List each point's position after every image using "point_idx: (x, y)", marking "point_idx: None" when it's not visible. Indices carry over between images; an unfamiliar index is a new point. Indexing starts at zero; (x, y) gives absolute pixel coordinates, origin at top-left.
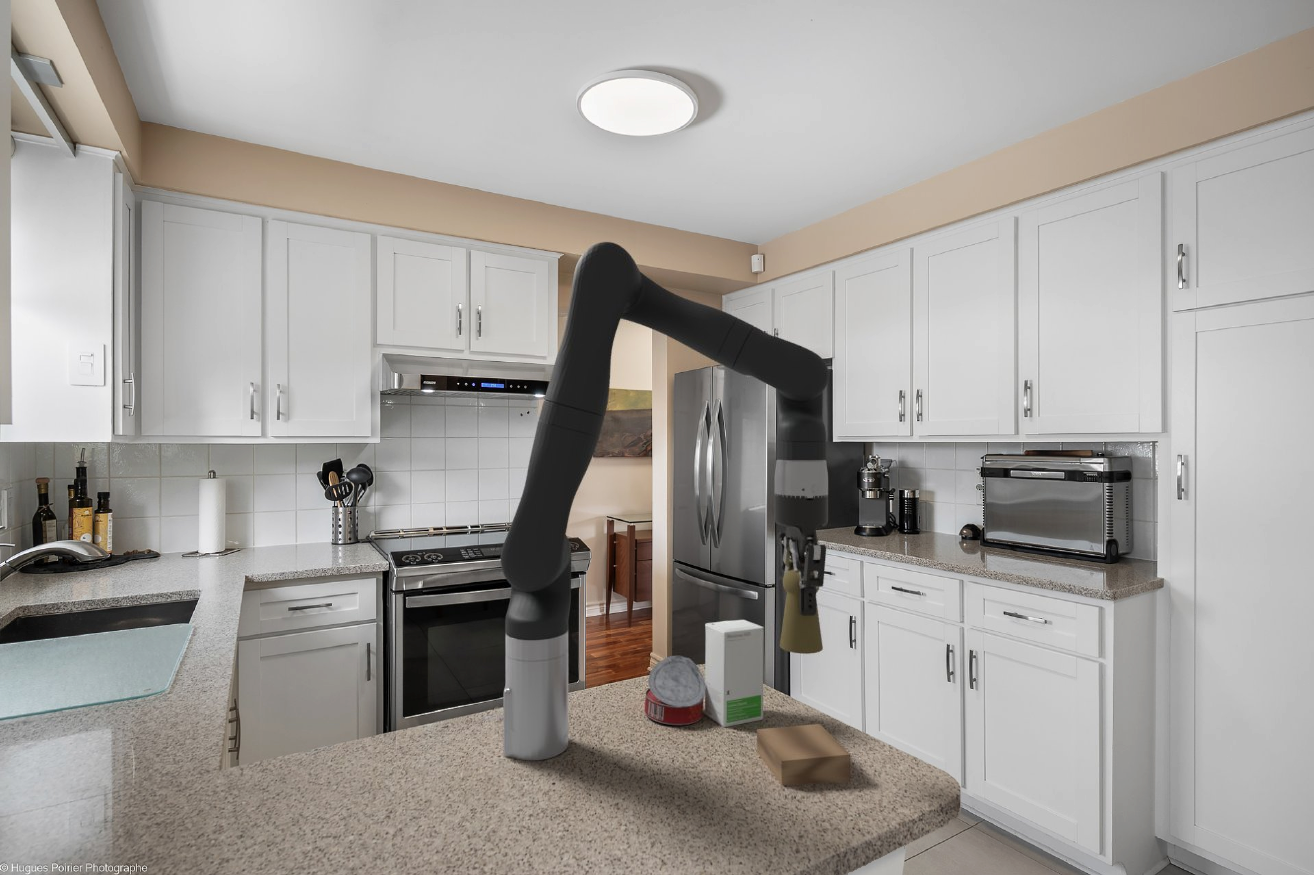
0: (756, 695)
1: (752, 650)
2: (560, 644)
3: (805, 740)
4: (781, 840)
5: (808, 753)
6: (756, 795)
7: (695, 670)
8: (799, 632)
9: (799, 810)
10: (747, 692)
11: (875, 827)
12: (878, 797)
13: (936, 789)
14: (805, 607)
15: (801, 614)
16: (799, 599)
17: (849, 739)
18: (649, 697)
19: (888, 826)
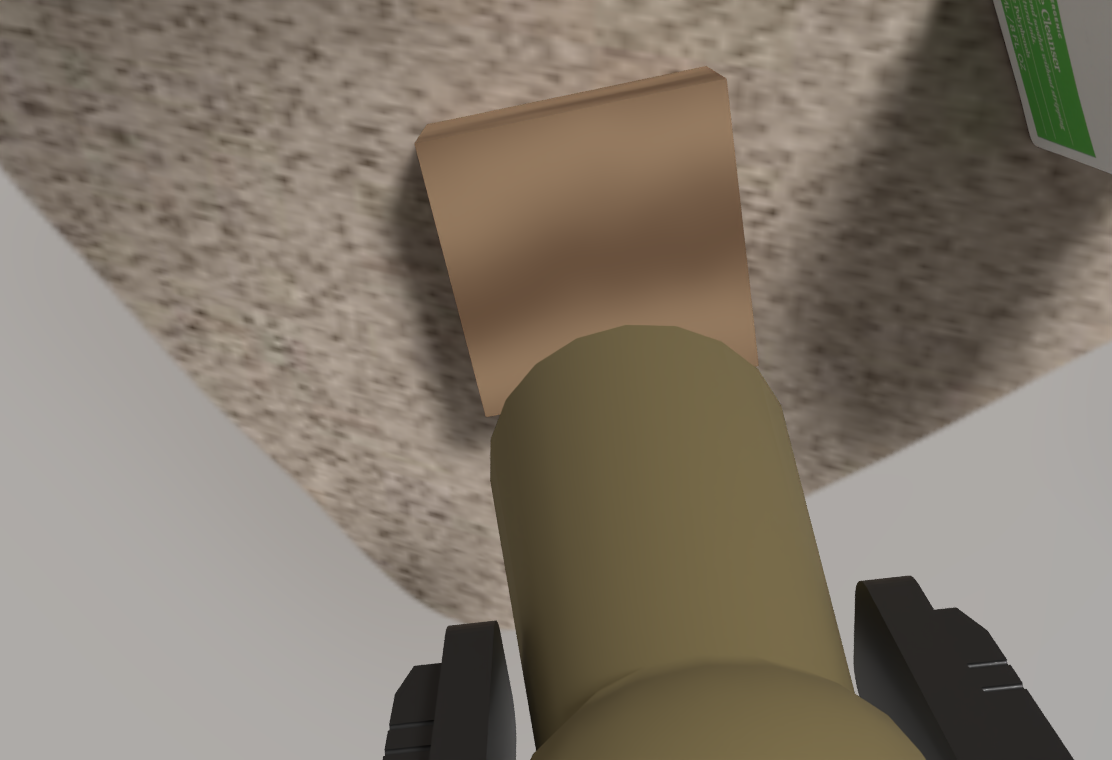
0: (1088, 131)
1: None
2: None
3: (604, 278)
4: (79, 63)
5: (488, 267)
6: (364, 14)
7: None
8: (512, 511)
9: (279, 162)
10: (1089, 81)
11: (215, 376)
12: (391, 431)
13: (451, 594)
14: (393, 708)
15: (458, 625)
16: (478, 721)
17: (796, 445)
18: None
19: (227, 413)
